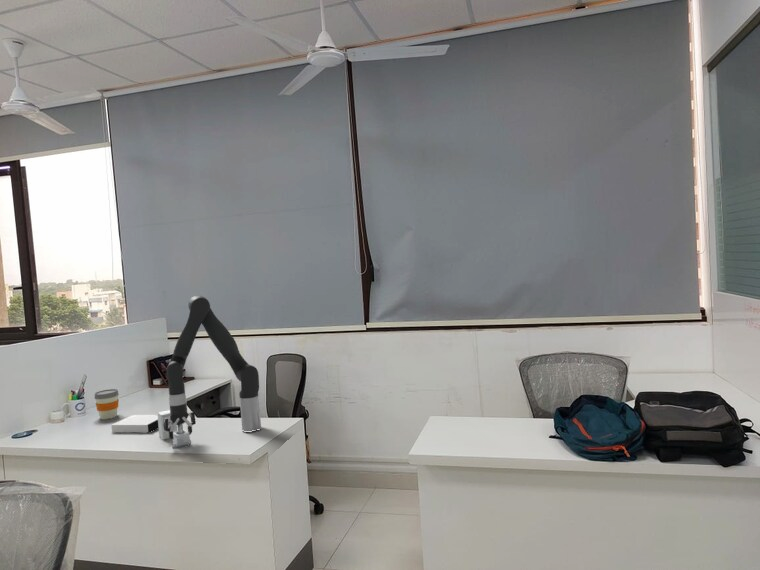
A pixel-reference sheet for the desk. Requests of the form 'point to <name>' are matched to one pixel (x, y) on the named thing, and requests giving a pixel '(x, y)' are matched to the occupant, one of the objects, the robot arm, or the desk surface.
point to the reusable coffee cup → (107, 403)
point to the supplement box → (162, 432)
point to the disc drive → (136, 424)
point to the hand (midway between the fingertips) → (181, 436)
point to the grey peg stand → (180, 431)
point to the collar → (181, 438)
